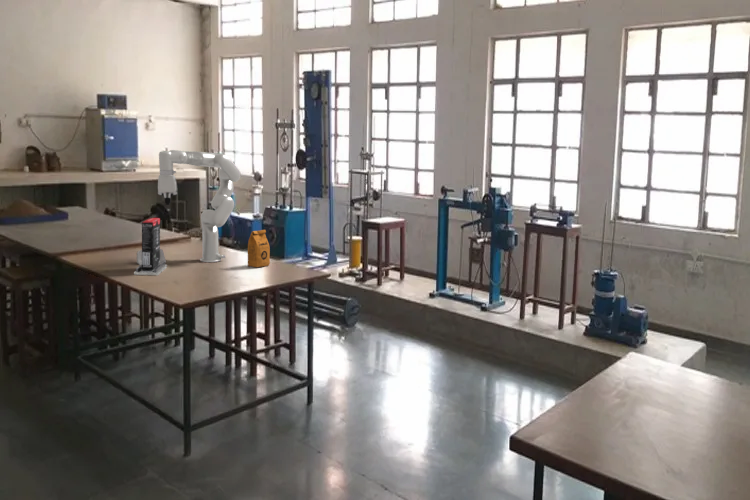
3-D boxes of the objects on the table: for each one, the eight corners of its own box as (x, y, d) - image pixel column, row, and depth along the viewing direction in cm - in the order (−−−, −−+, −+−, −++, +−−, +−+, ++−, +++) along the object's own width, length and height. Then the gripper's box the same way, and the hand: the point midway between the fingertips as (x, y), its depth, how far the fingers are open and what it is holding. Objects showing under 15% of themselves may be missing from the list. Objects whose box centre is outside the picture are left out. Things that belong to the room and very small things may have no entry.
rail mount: (167, 267, 398) (166, 261, 397) (158, 275, 376) (158, 269, 376) (144, 266, 397) (144, 260, 396) (134, 274, 375) (133, 268, 375)
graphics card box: (149, 263, 395) (148, 217, 390) (161, 264, 395) (160, 217, 391) (141, 270, 378) (140, 221, 373) (154, 270, 379) (153, 221, 374)
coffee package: (272, 266, 411) (272, 230, 407) (255, 269, 402) (256, 232, 398) (261, 263, 418) (262, 228, 414) (245, 266, 408) (245, 230, 404)
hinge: (138, 265, 400) (136, 248, 401) (136, 266, 404) (134, 249, 405) (166, 262, 410) (164, 246, 411) (164, 263, 414) (162, 247, 415)
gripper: (181, 172, 395) (182, 203, 399) (154, 172, 394) (156, 203, 398) (178, 173, 388) (180, 205, 392) (151, 173, 386) (153, 205, 390)
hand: (168, 204), depth 395 cm, fingers closed
